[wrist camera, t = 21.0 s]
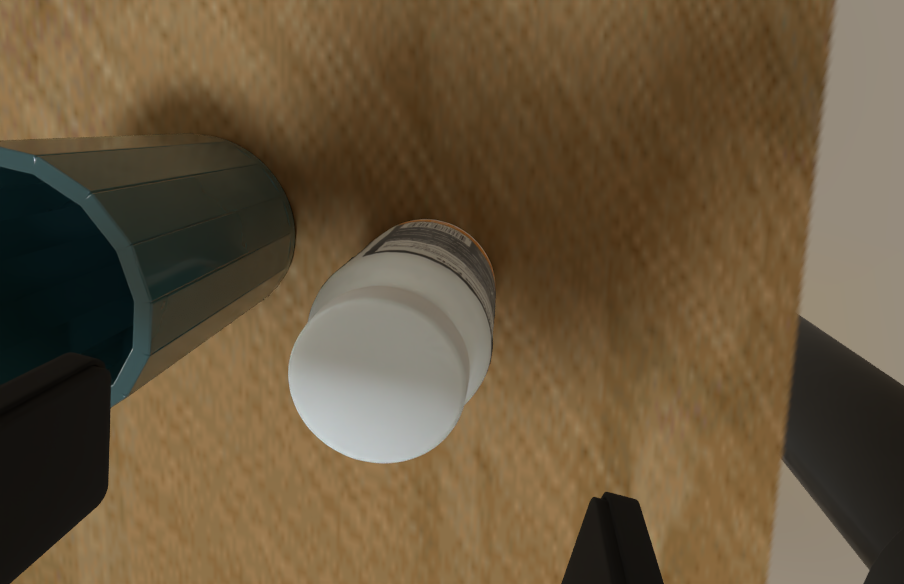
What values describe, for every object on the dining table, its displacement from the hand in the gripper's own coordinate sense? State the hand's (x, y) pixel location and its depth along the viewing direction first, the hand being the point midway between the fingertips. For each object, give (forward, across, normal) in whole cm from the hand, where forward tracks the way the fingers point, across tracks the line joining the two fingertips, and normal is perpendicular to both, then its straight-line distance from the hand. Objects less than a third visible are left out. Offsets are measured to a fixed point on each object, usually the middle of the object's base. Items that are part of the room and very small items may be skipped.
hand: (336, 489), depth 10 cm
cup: (+14, +10, 0) cm, 17 cm away
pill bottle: (+14, +1, 0) cm, 14 cm away
